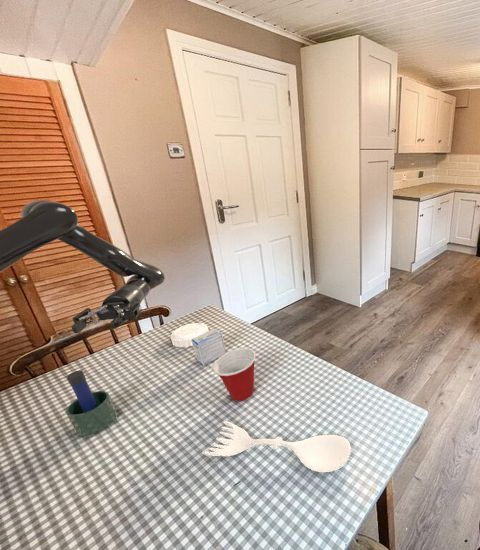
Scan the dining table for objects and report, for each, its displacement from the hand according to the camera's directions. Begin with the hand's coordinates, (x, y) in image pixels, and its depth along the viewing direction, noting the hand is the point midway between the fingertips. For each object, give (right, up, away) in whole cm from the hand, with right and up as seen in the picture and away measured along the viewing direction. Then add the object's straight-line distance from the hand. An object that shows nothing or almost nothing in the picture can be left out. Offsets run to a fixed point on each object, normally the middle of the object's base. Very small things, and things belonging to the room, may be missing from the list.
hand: (94, 328), depth 78 cm
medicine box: (+19, -14, +23) cm, 33 cm away
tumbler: (+3, -24, -2) cm, 24 cm away
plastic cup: (+35, -20, +7) cm, 41 cm away
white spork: (+51, -27, -9) cm, 59 cm away
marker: (+3, -23, -2) cm, 24 cm away
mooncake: (+6, -10, +33) cm, 35 cm away
